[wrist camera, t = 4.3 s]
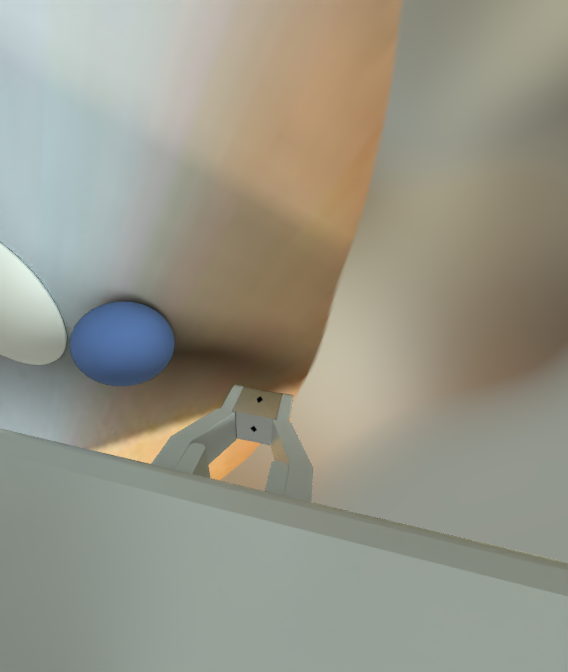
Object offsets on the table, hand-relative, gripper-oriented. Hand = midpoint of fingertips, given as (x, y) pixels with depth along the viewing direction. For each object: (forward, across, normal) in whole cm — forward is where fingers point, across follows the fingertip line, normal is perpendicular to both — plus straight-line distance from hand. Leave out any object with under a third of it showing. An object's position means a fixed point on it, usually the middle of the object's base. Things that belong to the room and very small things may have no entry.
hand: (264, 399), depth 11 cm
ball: (+3, +10, 0) cm, 10 cm away
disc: (+5, +25, 0) cm, 25 cm away
